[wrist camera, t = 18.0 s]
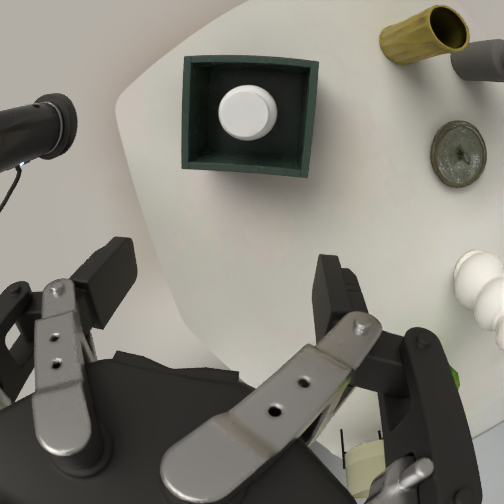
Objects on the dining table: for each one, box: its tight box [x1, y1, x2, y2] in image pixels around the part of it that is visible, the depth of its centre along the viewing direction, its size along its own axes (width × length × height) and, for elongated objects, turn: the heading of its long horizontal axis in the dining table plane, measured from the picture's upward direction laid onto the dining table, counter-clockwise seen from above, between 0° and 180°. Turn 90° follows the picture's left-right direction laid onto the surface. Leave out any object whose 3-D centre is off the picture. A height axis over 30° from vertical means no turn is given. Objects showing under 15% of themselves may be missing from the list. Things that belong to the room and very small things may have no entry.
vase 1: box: [379, 5, 470, 65], centre depth 23 cm, size 6×6×14 cm
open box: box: [181, 55, 319, 178], centre depth 32 cm, size 14×13×10 cm
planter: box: [340, 429, 385, 499], centre depth 61 cm, size 15×16×23 cm
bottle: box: [451, 39, 504, 82], centre depth 21 cm, size 6×6×15 cm
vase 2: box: [454, 250, 504, 351], centre depth 33 cm, size 11×11×25 cm
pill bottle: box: [218, 85, 278, 141], centre depth 31 cm, size 6×6×11 cm
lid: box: [431, 121, 487, 188], centre depth 33 cm, size 11×10×5 cm
